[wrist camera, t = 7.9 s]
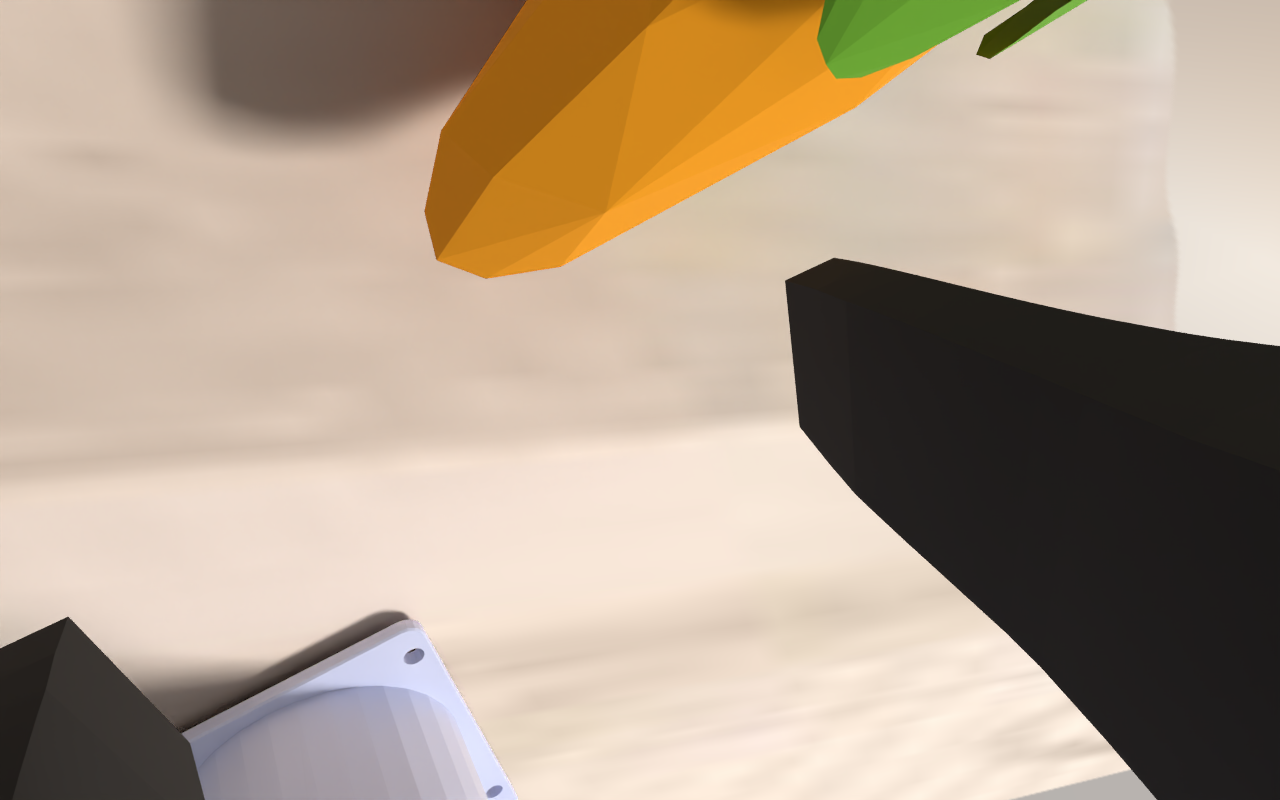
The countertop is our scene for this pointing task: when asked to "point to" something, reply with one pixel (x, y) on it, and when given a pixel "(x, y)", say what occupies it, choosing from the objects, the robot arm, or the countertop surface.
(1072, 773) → the countertop surface
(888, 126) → the countertop surface
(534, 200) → the corn
